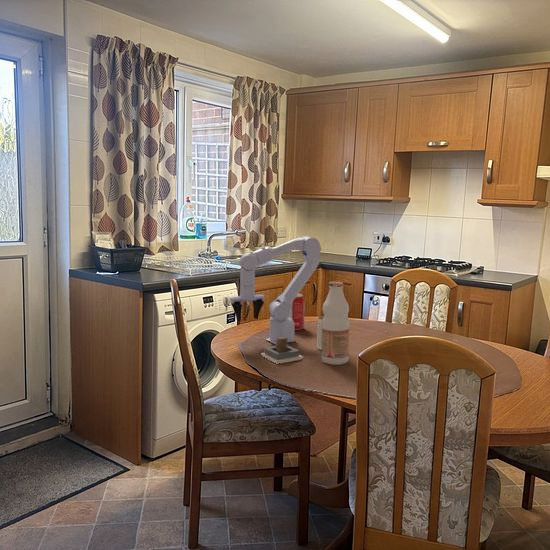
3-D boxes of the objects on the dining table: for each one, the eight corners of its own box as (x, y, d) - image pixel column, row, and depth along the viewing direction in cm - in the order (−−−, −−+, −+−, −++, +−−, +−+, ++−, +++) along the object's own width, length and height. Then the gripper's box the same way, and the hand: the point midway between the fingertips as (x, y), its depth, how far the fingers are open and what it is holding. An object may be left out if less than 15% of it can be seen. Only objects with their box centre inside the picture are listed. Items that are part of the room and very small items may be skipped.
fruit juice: (316, 362, 188) (317, 283, 183) (329, 355, 195) (331, 279, 191) (340, 367, 182) (341, 285, 178) (353, 360, 190) (354, 281, 186)
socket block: (286, 351, 200) (286, 343, 200) (302, 359, 191) (303, 351, 190) (260, 355, 195) (260, 347, 194) (276, 364, 185) (276, 355, 185)
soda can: (284, 330, 231) (284, 296, 228) (288, 326, 238) (289, 292, 236) (301, 331, 228) (302, 297, 226) (306, 327, 236) (306, 293, 233)
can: (314, 347, 205) (314, 316, 204) (329, 345, 208) (329, 315, 206) (322, 352, 199) (322, 320, 198) (337, 349, 202) (337, 318, 200)
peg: (283, 352, 196) (283, 336, 195) (289, 355, 192) (289, 338, 191) (274, 353, 193) (274, 337, 193) (279, 356, 190) (280, 340, 189)
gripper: (235, 288, 201) (235, 323, 203) (268, 285, 208) (268, 319, 210) (227, 285, 207) (227, 319, 209) (259, 282, 214) (259, 316, 216)
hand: (247, 319), depth 210 cm, fingers open, 7 cm apart
